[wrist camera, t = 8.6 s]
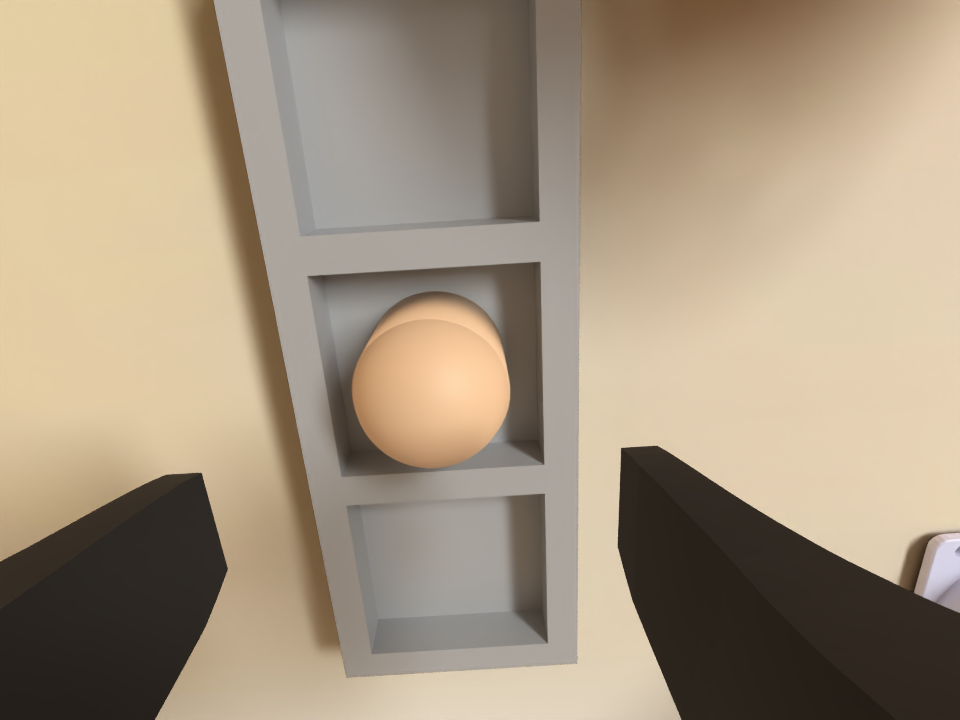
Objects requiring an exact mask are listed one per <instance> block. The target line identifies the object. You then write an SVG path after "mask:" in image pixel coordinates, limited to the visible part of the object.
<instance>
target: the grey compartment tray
mask: <svg viewBox="0 0 960 720" xmlns="http://www.w3.org/2000/svg"><path fill="white" fill-rule="evenodd" d="M214 5H215V11H216V16H217V21H218V26H219V31H220V36H221V41H222V46H223V51H224V56H225V62H226V67H227V72H228V77H229V82H230V87H231V92H232V97H233V102H234V107H235V113H236V118H237V123H238V128H239V133H240V138H241V143H242V148H243V153H244V158H245V163H246V169H247V174H248V179H249V184H250V189H251V194H252V199H253V204H254V209H255V214H256V220H257V225H258V230H259V235H260V240H261V245H262V250H263V255H264V260H265V265H266V270H267V276H268V281H269V286H270V291H271V296H272V301H273V306H274V311H275V316H276V321H277V327H278V332H279V337H280V342H281V347H282V352H283V357H284V362H285V367H286V372H287V378H288V383H289V388H290V393H291V398H292V403H293V408H294V413H295V418H296V423H297V428H298V434H299V439H300V444H301V449H302V454H303V459H304V464H305V469H306V474H307V479H308V485H309V490H310V495H311V500H312V505H313V510H314V515H315V520H316V525H317V530H318V535H319V541H320V546H321V551H322V556H323V561H324V566H325V571H326V576H327V581H328V586H329V592H330V597H331V602H332V607H333V612H334V617H335V622H336V627H337V632H338V637H339V642H340V648H341V653H342V658H343V663H344V668H345V673H346V678H349V677H365V676H382V675H398V674H414V673H431V672H447V671H464V670H480V669H497V668H513V667H530V666H546V665H562V664H577V600H578V433H579V265H580V98H581V0H214ZM428 291H443V292H450V293H454V294H458V295H460V296H463V297H465V298H467V299H469V300H471V301H473V302H474V303H476V304H477V305H478V306H480V307H481V308H482V309H483V310H484V311H485V312H486V313H487V314H488V315H489V316H490V318H491V319H492V320H493V322H494V323H495V325H496V327H497V329H498V331H499V333H500V336H501V340H502V344H503V349H504V354H505V360H506V365H507V371H508V376H509V382H510V402H509V407H508V411H507V414H506V417H505V419H504V421H503V423H502V425H501V427H500V428H499V430H498V431H497V433H496V434H495V436H494V437H493V438H492V440H491V441H490V442H489V443H488V444H487V445H486V446H485V447H484V448H483V449H482V450H481V451H479V452H478V453H477V454H475V455H474V456H472V457H470V458H469V459H467V460H465V461H463V462H460V463H458V464H455V465H452V466H447V467H442V468H420V467H414V466H410V465H407V464H404V463H401V462H399V461H397V460H395V459H393V458H391V457H389V456H388V455H386V454H385V453H384V452H382V451H381V450H380V449H379V448H378V447H377V446H376V445H375V444H374V443H373V442H372V441H371V440H370V439H369V437H368V436H367V435H366V433H365V432H364V430H363V428H362V426H361V424H360V422H359V419H358V417H357V414H356V411H355V408H354V403H353V399H352V379H353V374H354V370H355V367H356V365H357V362H358V360H359V358H360V356H361V354H362V352H363V351H364V349H365V347H366V345H367V343H368V341H369V339H370V337H371V336H372V334H373V332H374V330H375V328H376V326H377V324H378V323H379V321H380V319H381V318H382V317H383V315H384V314H385V313H386V312H387V311H388V310H389V309H390V308H391V307H392V306H393V305H395V304H396V303H397V302H399V301H401V300H402V299H404V298H406V297H409V296H411V295H414V294H417V293H421V292H428Z"/></svg>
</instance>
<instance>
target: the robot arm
mask: <svg viewBox="0 0 960 720" xmlns="http://www.w3.org/2000/svg"><path fill="white" fill-rule="evenodd" d="M618 549H619V553H620V557H621V561H622V564H623V568H624V572H625V576H626V579H627V583H628V586H629V590H630V593H631V597H632V600H633V603H634V605H635V608H636V610H637V613H638V615H639V618H640V620H641V623H642V625H643V628H644V630H645V633H646V635H647V637H648V640H649V642H650V645H651V647H652V650H653V652H654V654H655V657H656V659H657V662H658V664H659V666H660V669H661V671H662V674H663V676H664V679H665V681H666V683H667V686H668V688H669V691H670V693H671V695H672V698H673V700H674V703H675V705H676V707H677V710H678V712H679V715H680V717H681V719H682V720H960V533H949V534H941V535H937V536H935V537H933V538H932V539H931V540H930V541H929V543H928V545H927V548H926V552H925V555H924V559H923V562H922V566H921V569H920V573H919V576H918V580H917V584H916V587H915V591H914V593H913V592H911V591H909V590H906V589H904V588H902V587H900V586H898V585H896V584H894V583H892V582H890V581H888V580H886V579H884V578H882V577H880V576H877V575H875V574H873V573H871V572H869V571H867V570H865V569H863V568H861V567H859V566H857V565H855V564H853V563H851V562H849V561H847V560H845V559H843V558H841V557H839V556H837V555H835V554H833V553H832V552H830V551H828V550H826V549H824V548H822V547H820V546H819V545H817V544H815V543H813V542H812V541H810V540H808V539H806V538H804V537H803V536H801V535H799V534H797V533H796V532H794V531H792V530H790V529H789V528H787V527H785V526H783V525H782V524H780V523H778V522H776V521H775V520H773V519H772V518H770V517H768V516H767V515H765V514H763V513H762V512H760V511H758V510H757V509H755V508H753V507H752V506H750V505H749V504H747V503H745V502H744V501H742V500H741V499H739V498H738V497H736V496H734V495H733V494H731V493H730V492H728V491H727V490H725V489H724V488H722V487H721V486H719V485H717V484H716V483H714V482H713V481H711V480H710V479H708V478H707V477H705V476H704V475H702V474H701V473H699V472H698V471H696V470H695V469H693V468H692V467H690V466H689V465H687V464H686V463H684V462H683V461H681V460H680V459H678V458H677V457H675V456H674V455H672V454H670V453H669V452H667V451H665V450H664V449H662V448H660V447H658V446H646V447H629V448H621V471H620V499H619V526H618ZM227 570H228V568H227V565H226V561H225V557H224V554H223V550H222V546H221V543H220V539H219V535H218V532H217V528H216V524H215V521H214V517H213V513H212V510H211V506H210V502H209V499H208V495H207V491H206V488H205V484H204V480H203V476H202V473H189V474H172V475H165V476H162V477H160V478H158V479H155V480H153V481H151V482H149V483H146V484H144V485H142V486H140V487H138V488H136V489H134V490H132V491H130V492H128V493H127V494H125V495H123V496H121V497H119V498H117V499H115V500H113V501H112V502H110V503H108V504H106V505H104V506H102V507H100V508H99V509H97V510H95V511H93V512H91V513H90V514H88V515H86V516H84V517H82V518H80V519H79V520H77V521H75V522H73V523H71V524H70V525H68V526H66V527H64V528H62V529H60V530H59V531H57V532H55V533H53V534H51V535H50V536H48V537H46V538H44V539H42V540H40V541H39V542H37V543H35V544H33V545H31V546H29V547H28V548H26V549H24V550H22V551H20V552H18V553H16V554H14V555H12V556H10V557H8V558H7V559H5V560H3V561H1V562H0V720H155V718H156V717H157V715H158V713H159V711H160V709H161V708H162V706H163V704H164V702H165V700H166V698H167V697H168V695H169V693H170V691H171V689H172V688H173V686H174V684H175V682H176V680H177V679H178V677H179V675H180V673H181V671H182V669H183V668H184V666H185V664H186V662H187V660H188V658H189V656H190V655H191V653H192V651H193V649H194V647H195V645H196V644H197V642H198V640H199V638H200V636H201V634H202V632H203V630H204V628H205V626H206V624H207V622H208V619H209V617H210V614H211V612H212V610H213V607H214V605H215V602H216V600H217V597H218V594H219V592H220V589H221V586H222V583H223V581H224V578H225V575H226V572H227Z"/></svg>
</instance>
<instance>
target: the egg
mask: <svg viewBox="0 0 960 720" xmlns="http://www.w3.org/2000/svg"><path fill="white" fill-rule="evenodd" d="M352 399H353V403H354V408H355V411H356V414H357V417H358V419H359V422H360V424H361V426H362V428H363V430H364V432H365V433H366V435H367V436H368V437H369V439H370V440H371V441H372V442H373V443H374V444H375V445H376V446H377V447H378V448H379V449H380V450H381V451H382V452H384V453H385V454H386V455H388V456H389V457H391V458H393V459H395V460H397V461H399V462H401V463H404V464H407V465H410V466H414V467H420V468H442V467H447V466H452V465H455V464H458V463H460V462H463V461H465V460H467V459H469V458H470V457H472V456H474V455H475V454H477V453H478V452H479V451H481V450H482V449H483V448H484V447H485V446H486V445H487V444H488V443H489V442H490V441H491V440H492V438H493V437H494V436H495V434H496V433H497V431H498V430H499V428H500V427H501V425H502V423H503V421H504V419H505V417H506V414H507V411H508V407H509V402H510V382H509V376H508V371H507V365H506V360H505V354H504V349H503V344H502V340H501V336H500V333H499V331H498V329H497V327H496V325H495V323H494V322H493V320H492V319H491V318H490V316H489V315H488V314H487V313H486V312H485V311H484V310H483V309H482V308H481V307H480V306H478V305H477V304H476V303H474V302H473V301H471V300H469V299H467V298H465V297H463V296H460V295H458V294H454V293H450V292H443V291H428V292H421V293H417V294H414V295H411V296H409V297H406V298H404V299H402V300H401V301H399V302H397V303H396V304H395V305H393V306H392V307H391V308H390V309H389V310H388V311H387V312H386V313H385V314H384V315H383V317H382V318H381V319H380V321H379V323H378V324H377V326H376V328H375V330H374V332H373V334H372V336H371V337H370V339H369V341H368V343H367V345H366V347H365V349H364V351H363V352H362V354H361V356H360V358H359V360H358V362H357V365H356V367H355V370H354V374H353V379H352Z"/></svg>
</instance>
